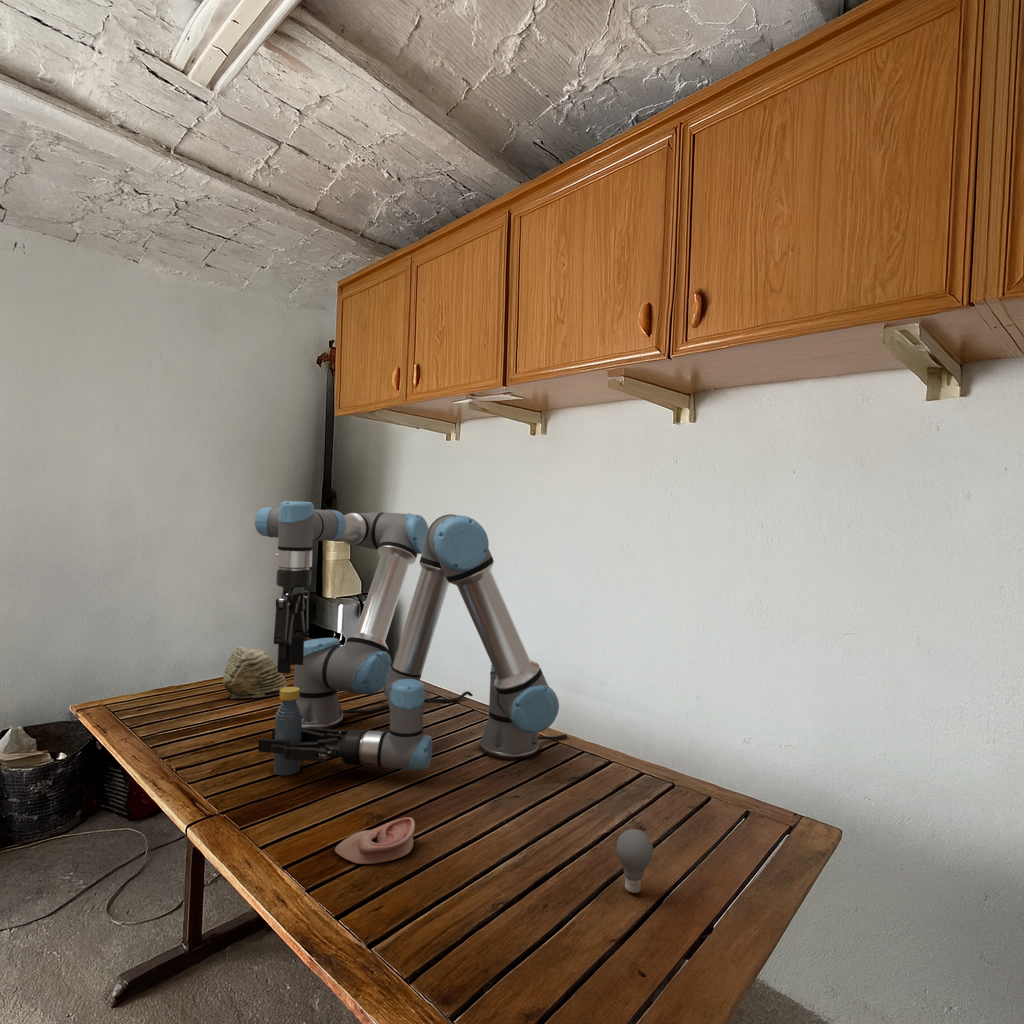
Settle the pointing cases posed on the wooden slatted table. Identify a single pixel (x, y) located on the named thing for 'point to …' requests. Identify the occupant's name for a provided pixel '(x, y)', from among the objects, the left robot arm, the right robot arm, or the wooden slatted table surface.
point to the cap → (289, 693)
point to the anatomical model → (379, 843)
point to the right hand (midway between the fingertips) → (266, 739)
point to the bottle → (287, 735)
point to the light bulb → (634, 857)
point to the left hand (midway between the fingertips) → (290, 668)
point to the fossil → (252, 674)
